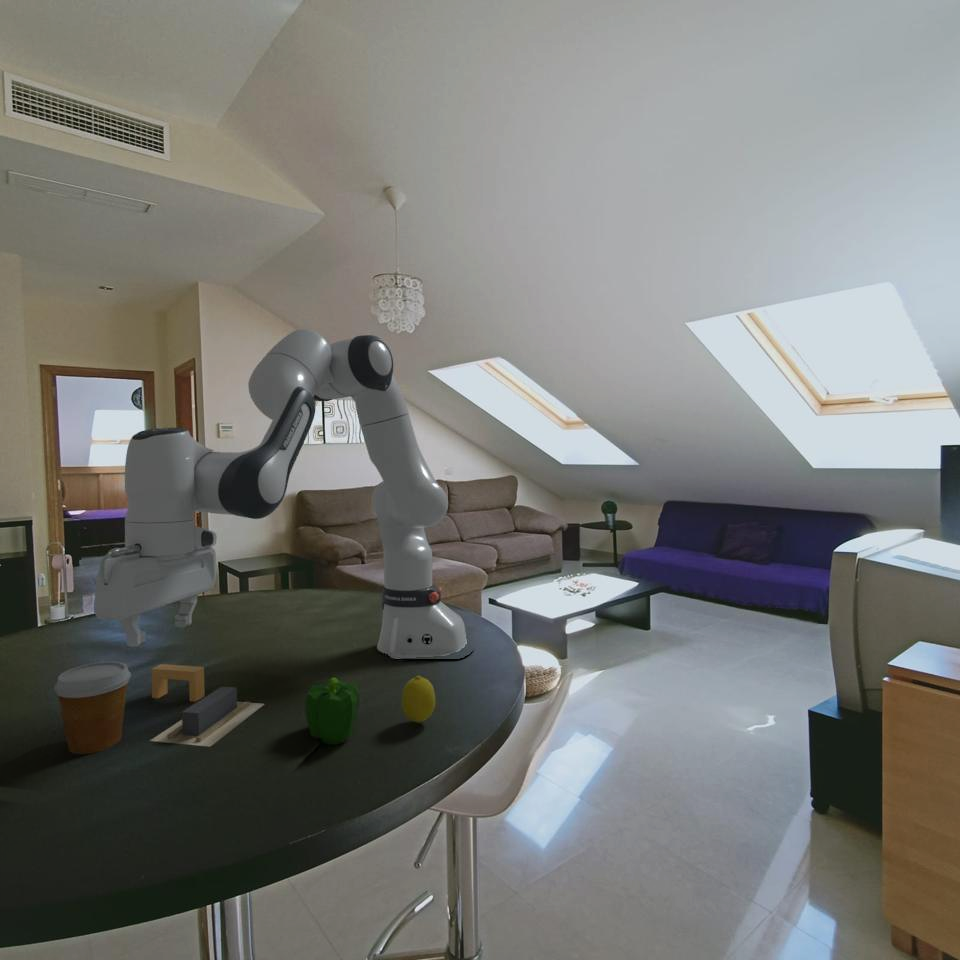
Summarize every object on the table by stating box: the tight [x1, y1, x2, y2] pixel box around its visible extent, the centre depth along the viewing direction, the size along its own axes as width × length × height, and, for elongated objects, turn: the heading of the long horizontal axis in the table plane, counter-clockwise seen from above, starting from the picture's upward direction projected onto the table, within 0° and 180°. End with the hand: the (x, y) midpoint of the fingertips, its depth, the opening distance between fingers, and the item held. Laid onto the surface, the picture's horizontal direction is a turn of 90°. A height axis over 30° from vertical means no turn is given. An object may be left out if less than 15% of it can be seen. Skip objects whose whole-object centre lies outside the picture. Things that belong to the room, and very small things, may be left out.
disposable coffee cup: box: [53, 661, 132, 755], centre depth 87 cm, size 10×10×12 cm
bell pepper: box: [304, 677, 360, 746], centre depth 91 cm, size 8×8×10 cm
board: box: [149, 701, 265, 748], centre depth 94 cm, size 10×15×2 cm, turn 170°
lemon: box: [400, 675, 436, 723], centre depth 96 cm, size 6×6×8 cm
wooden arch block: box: [150, 663, 206, 703], centre depth 104 cm, size 9×2×6 cm, turn 80°
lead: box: [181, 686, 238, 736], centre depth 94 cm, size 3×10×4 cm, turn 170°
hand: (160, 635), depth 85 cm, fingers open, 8 cm apart
